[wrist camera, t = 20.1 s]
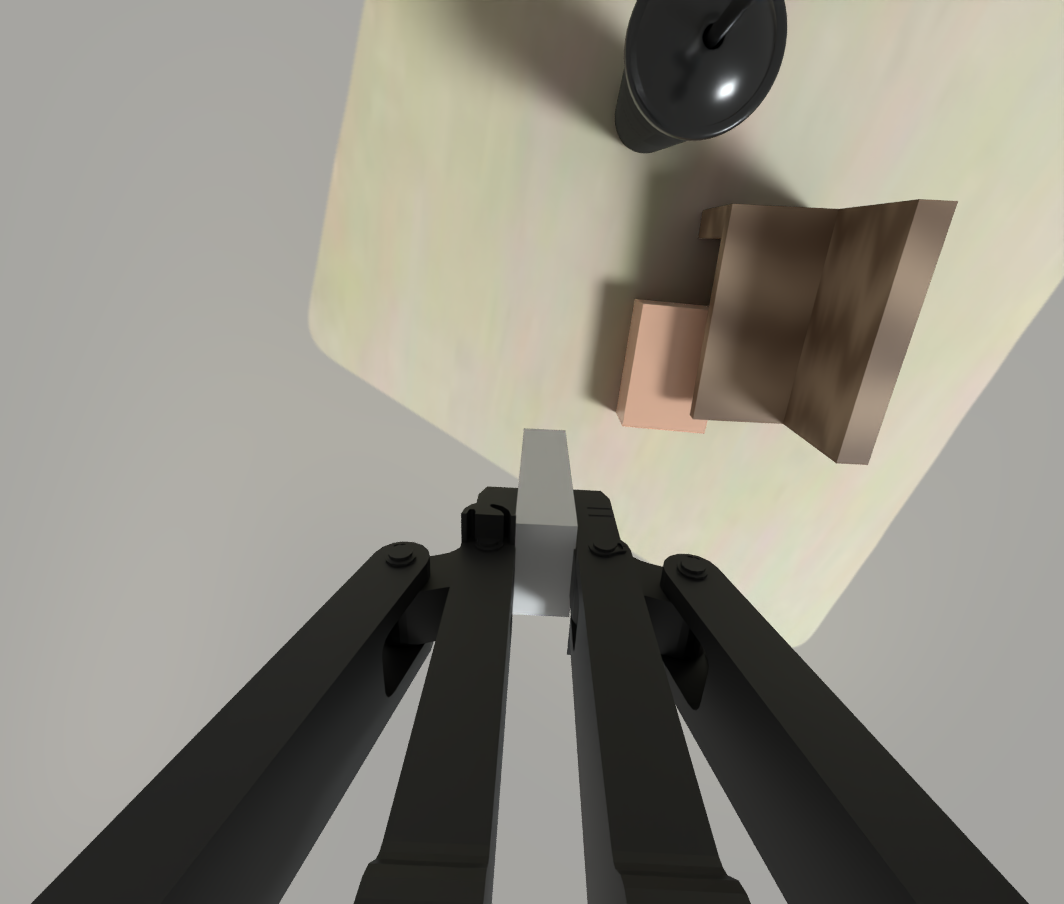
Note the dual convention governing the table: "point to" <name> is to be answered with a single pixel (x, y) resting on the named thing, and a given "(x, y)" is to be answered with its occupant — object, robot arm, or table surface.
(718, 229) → the desk shelf
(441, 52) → the table surface
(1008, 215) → the table surface
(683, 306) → the pink rectangular block
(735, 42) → the drinking cup
